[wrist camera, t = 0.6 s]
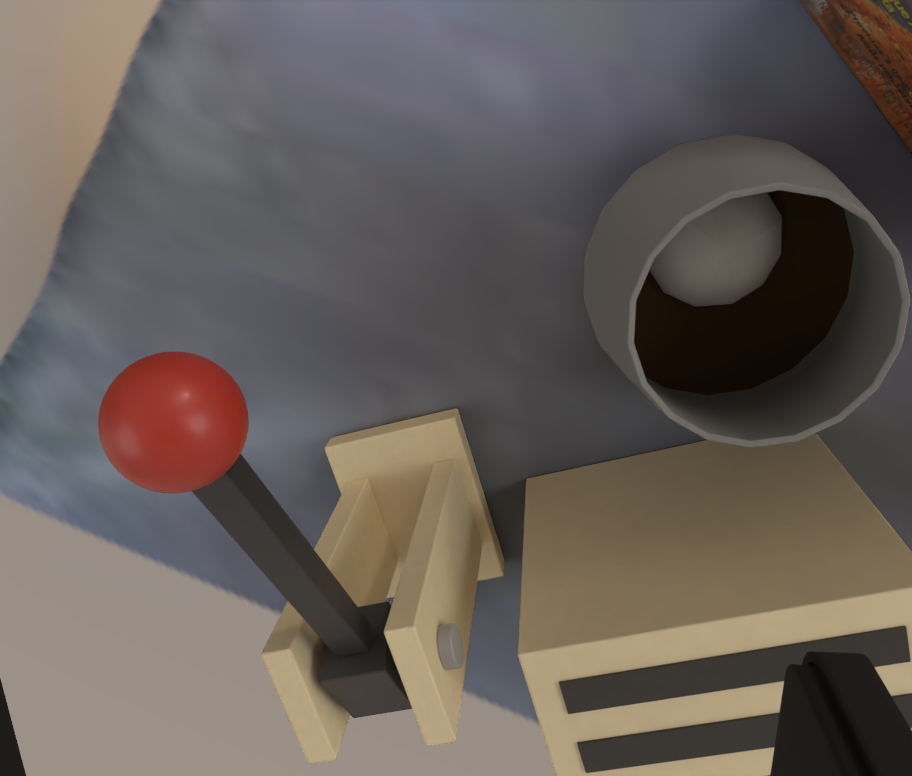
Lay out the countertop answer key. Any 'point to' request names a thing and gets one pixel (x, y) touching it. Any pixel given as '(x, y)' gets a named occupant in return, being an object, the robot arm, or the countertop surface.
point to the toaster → (700, 602)
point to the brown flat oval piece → (874, 50)
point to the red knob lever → (244, 510)
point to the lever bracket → (396, 573)
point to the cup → (745, 290)
